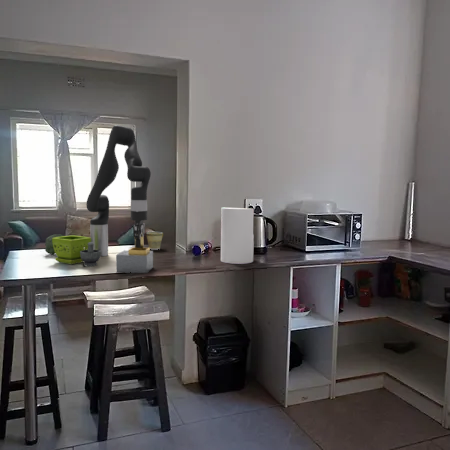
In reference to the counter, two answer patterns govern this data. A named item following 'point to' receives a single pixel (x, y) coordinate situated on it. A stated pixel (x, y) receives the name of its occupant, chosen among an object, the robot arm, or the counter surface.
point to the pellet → (141, 243)
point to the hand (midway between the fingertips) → (139, 246)
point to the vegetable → (51, 244)
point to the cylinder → (237, 235)
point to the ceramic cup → (154, 240)
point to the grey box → (134, 260)
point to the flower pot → (70, 248)
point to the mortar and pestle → (90, 255)
